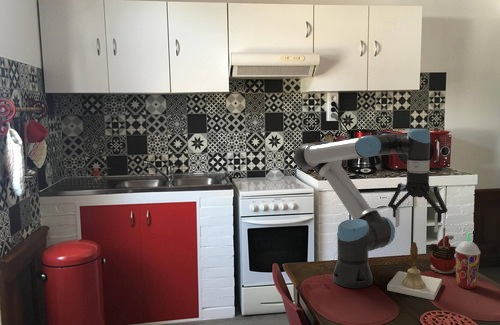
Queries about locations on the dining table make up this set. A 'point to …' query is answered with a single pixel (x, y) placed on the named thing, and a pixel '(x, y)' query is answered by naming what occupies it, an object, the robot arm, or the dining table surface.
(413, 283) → the hand bell
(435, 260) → the cake
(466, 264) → the smoothie
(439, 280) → the stand
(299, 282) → the dining table surface
